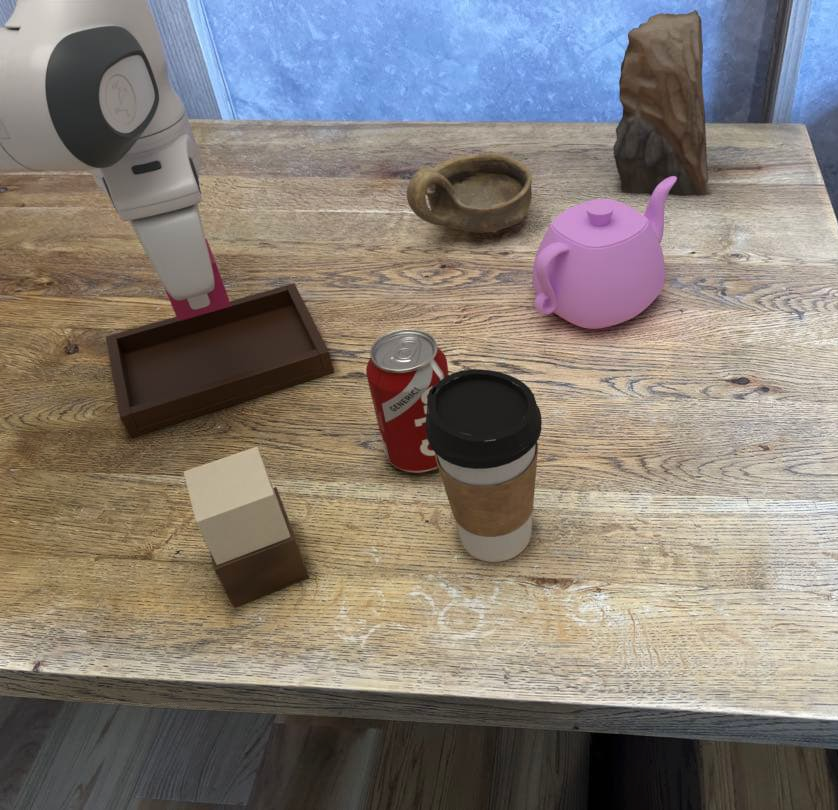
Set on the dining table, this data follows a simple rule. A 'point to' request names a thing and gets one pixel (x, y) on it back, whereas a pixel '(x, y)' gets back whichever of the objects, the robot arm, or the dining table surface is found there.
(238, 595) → the walnut block
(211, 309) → the pink block
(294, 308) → the tray
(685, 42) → the brown rock
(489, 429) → the coffee cup
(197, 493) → the cream block
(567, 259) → the teapot
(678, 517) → the dining table surface
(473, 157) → the bowl
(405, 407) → the soda can
